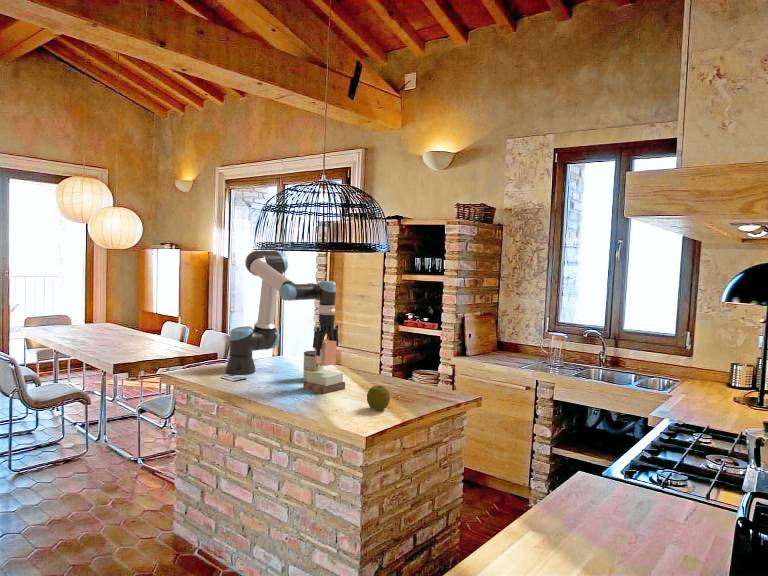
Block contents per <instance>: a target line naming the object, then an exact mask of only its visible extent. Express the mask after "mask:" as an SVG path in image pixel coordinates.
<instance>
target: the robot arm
mask: <svg viewBox="0 0 768 576" xmlns="http://www.w3.org/2000/svg"><path fill="white" fill-rule="evenodd" d="M257 250H258V249H257ZM257 250H253V251H251V252H250V253H248V254H247V256H246V258H245V261H244V265H245V268H246V270H247V272H249V273H250V274H251V275H253V276H256V277H259V278H260V279H261V286H260V287H261V288H260V297H259V306H258V312H257V313H258V314H257V321H256V322H255V323H254V325H253V327H252V326H250V325H249V326H239V327H234V328H232V329H231V330H230V332H229V358H228V360H227V364H226V367H225V373H226V374H229V375H235V376H236V375H240V376H241V375H251V374H254V373H255V372H256V366H255V365H256V364H255V361H254V358H253V352H254V351H263V350H271V349H274V348H275V347H276V346H277V345H278V344H279V341H280V332H279V329H278V328H277V325H276V324H275V317H276V307H277V298H278V293H279V296H280V299H281V300H283V301H288V302H290V301H301V300H302V301H303V300H304V301H306V300H307V301H309V300H311V301H312V300H315V301H319V302H318V303H319V304H318V313H319V314H318V322H319V324H318V326H314V327H313V331H314V333H313V341H312V348H314V349H315V348H316V356H317V362H318V363H322V349H321V346H322V342H323V340H325V336H326V335H327V337H328V338H327V339H328V340H331V341H336V348H337V347H338V346H339V325H337V324H334V322H335V321H336V320H335V318H336V316H335V315H336V314H335V313H336V291H337V287H336V286H337V284H336V282H335V281H332V280H320V282H319V284H318V283H313V282H311V283H310V282H308V283H295V282H293V281H292V280H290V279H289V278H287V277H286V276H285V275H283V274H284V273H286V272H287V270H288V268H289V262H288V258H287V255H286V254H285V253H284V252H283V251H280V250H261V251H257Z"/></svg>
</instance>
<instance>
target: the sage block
mask: <svg viewBox="0 0 768 576" xmlns="http://www.w3.org/2000/svg"><path fill="white" fill-rule="evenodd" d="M343 376H344V373H342V372H338V371H331V370H327V369H323V370H321V371H316V372H311V373H307V382H311V383H315V384H319V385H323V386H328V385H332V384H336V383H340V382H344V381H343V380H344V379H343V378H344V377H343Z"/></svg>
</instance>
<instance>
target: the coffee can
mask: <svg viewBox="0 0 768 576" xmlns="http://www.w3.org/2000/svg"><path fill="white" fill-rule="evenodd" d="M324 367H325V366H323V365H319V364H315V350H306V351H304V352H303V374H302V375H303V378H302V379H303V380H302V381H303V382H304V381H307V373H311V372H316V371H321V370H325V369H324Z"/></svg>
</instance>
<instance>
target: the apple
mask: <svg viewBox="0 0 768 576" xmlns="http://www.w3.org/2000/svg"><path fill="white" fill-rule="evenodd" d="M390 400H391V395H390V391H389V390H388V388H386V387H385V386H383V385H373V386H372V387H371V388H369V389H368V391H367V393H366V401H367V403H368V406H369V408H370V409H373V411H383V410H385V409H386V408H387V407H388V406H389V404H390Z"/></svg>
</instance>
